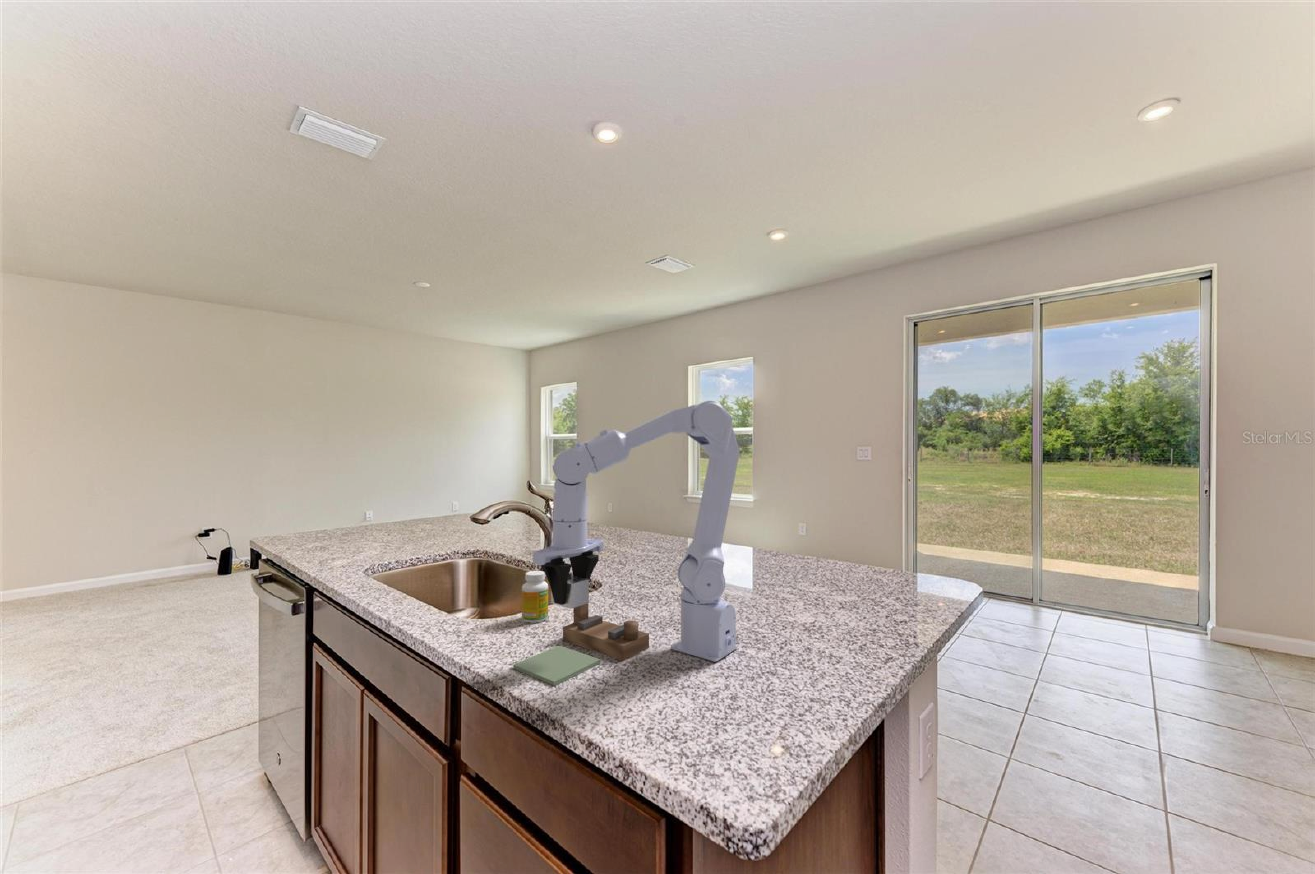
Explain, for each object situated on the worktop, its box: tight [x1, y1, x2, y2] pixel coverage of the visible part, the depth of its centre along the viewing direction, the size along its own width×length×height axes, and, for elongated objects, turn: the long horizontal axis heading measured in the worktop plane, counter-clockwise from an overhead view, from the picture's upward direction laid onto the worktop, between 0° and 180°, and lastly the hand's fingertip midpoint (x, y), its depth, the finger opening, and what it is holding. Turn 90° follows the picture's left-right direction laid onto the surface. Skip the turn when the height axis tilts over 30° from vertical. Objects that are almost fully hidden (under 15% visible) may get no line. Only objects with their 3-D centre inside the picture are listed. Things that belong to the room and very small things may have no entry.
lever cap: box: [550, 572, 590, 609], centre depth 85 cm, size 5×4×5 cm
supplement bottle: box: [521, 570, 549, 624], centre depth 105 cm, size 5×5×10 cm
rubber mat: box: [512, 645, 601, 687], centre depth 83 cm, size 10×10×1 cm
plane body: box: [562, 603, 650, 662], centre depth 92 cm, size 15×7×6 cm, turn 53°
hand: (569, 600), depth 85 cm, fingers closed on lever cap, 4 cm apart
